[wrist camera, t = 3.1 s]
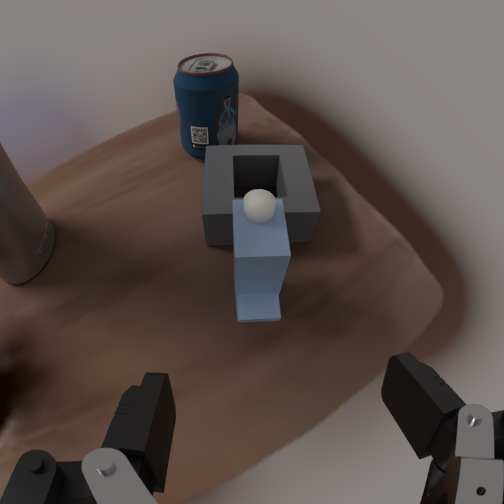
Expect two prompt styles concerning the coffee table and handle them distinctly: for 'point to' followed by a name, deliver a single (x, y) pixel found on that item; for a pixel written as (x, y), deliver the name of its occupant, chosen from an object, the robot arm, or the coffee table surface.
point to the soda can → (206, 102)
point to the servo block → (259, 256)
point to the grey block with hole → (258, 176)
